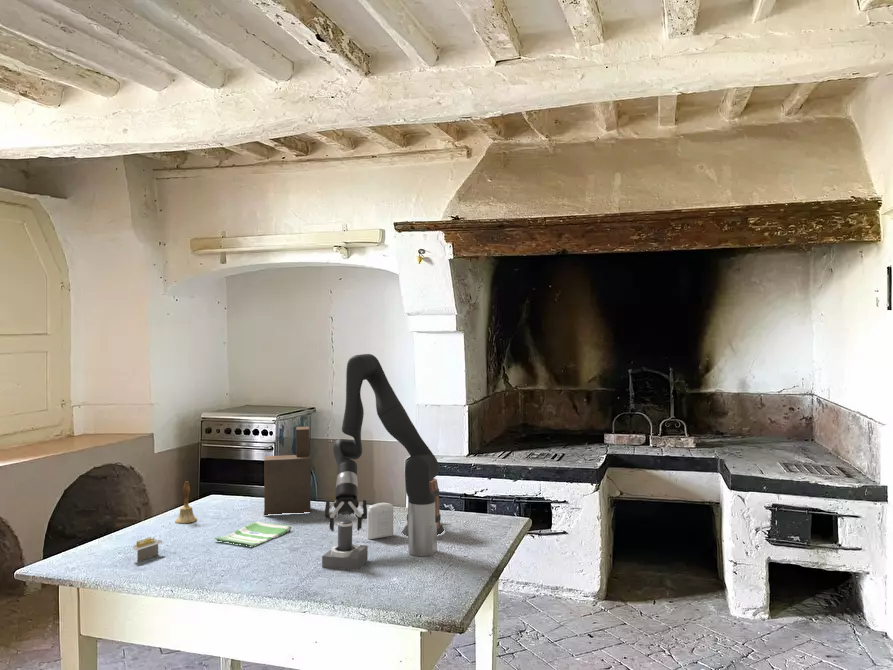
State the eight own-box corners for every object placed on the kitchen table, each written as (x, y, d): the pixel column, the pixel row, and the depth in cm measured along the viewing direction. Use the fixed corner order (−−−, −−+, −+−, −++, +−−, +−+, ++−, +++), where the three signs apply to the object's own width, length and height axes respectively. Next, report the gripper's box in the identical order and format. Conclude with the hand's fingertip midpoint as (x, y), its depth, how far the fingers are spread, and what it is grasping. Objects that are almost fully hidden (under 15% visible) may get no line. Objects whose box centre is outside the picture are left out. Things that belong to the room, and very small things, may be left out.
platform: (109, 564, 213) (110, 544, 213) (156, 548, 229) (156, 530, 229) (134, 570, 207) (134, 549, 207) (180, 553, 223) (180, 534, 224)
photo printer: (389, 533, 246) (389, 500, 246) (395, 535, 242) (395, 502, 242) (365, 537, 240) (365, 504, 240) (370, 540, 236) (370, 506, 236)
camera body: (367, 560, 214) (367, 545, 214) (357, 570, 205) (357, 554, 205) (333, 558, 217) (333, 543, 217) (322, 567, 208) (322, 551, 208)
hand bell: (176, 519, 266) (176, 480, 267) (197, 517, 269) (198, 478, 269) (174, 524, 259) (174, 484, 259) (196, 522, 261) (196, 482, 261)
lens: (354, 551, 213) (354, 520, 213) (349, 555, 208) (349, 524, 208) (340, 550, 214) (341, 519, 214) (335, 554, 209) (335, 523, 210)
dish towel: (213, 543, 235) (213, 535, 235) (257, 526, 257) (257, 519, 257) (251, 550, 228) (251, 542, 228) (293, 532, 249) (294, 525, 249)
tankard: (439, 540, 237) (439, 484, 237) (395, 536, 241) (395, 482, 241) (454, 522, 260) (454, 472, 260) (413, 520, 264) (413, 470, 264)
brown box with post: (310, 505, 288) (310, 426, 289) (310, 513, 274) (310, 430, 275) (265, 508, 284) (265, 427, 284) (263, 516, 270) (263, 432, 270)
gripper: (325, 482, 225) (323, 524, 213) (367, 481, 226) (367, 523, 215) (326, 494, 230) (324, 536, 218) (367, 493, 232) (367, 534, 220)
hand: (345, 529), depth 217 cm, fingers open, 8 cm apart
